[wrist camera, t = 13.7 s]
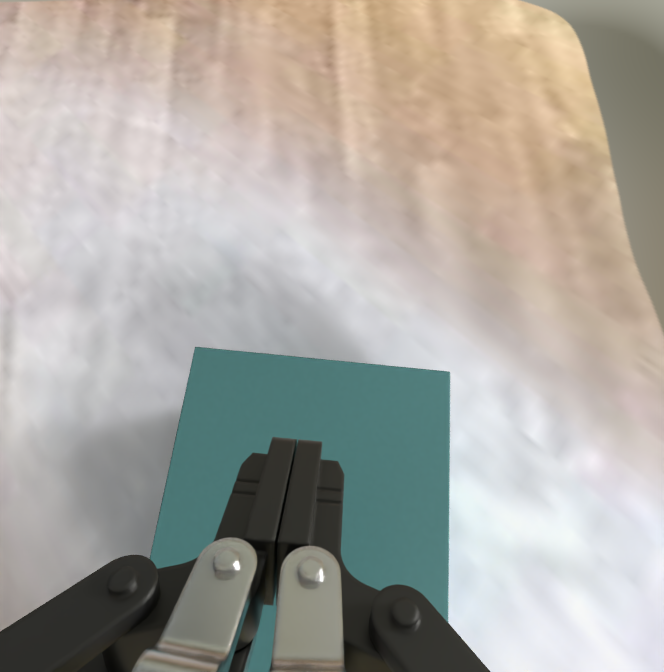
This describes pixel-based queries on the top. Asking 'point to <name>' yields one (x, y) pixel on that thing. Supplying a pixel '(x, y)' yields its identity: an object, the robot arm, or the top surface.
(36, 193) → the top surface
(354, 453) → the lid
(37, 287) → the top surface
